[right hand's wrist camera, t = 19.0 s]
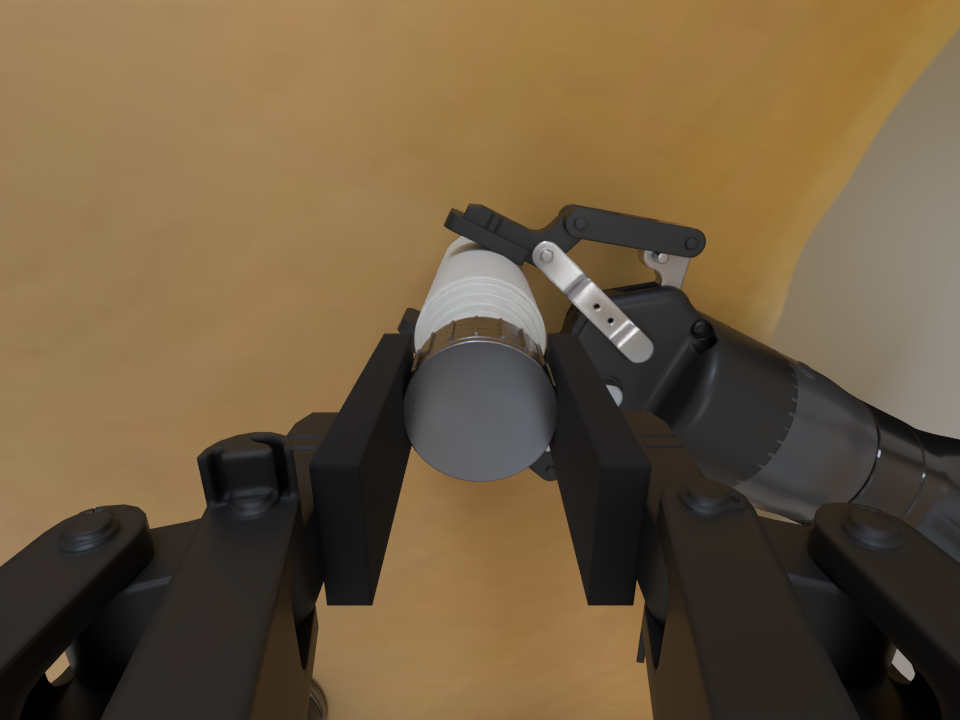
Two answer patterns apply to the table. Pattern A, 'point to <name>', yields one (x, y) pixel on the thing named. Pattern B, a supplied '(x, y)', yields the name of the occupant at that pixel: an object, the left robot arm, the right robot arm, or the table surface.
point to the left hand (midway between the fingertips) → (426, 269)
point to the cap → (480, 400)
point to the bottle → (479, 293)
